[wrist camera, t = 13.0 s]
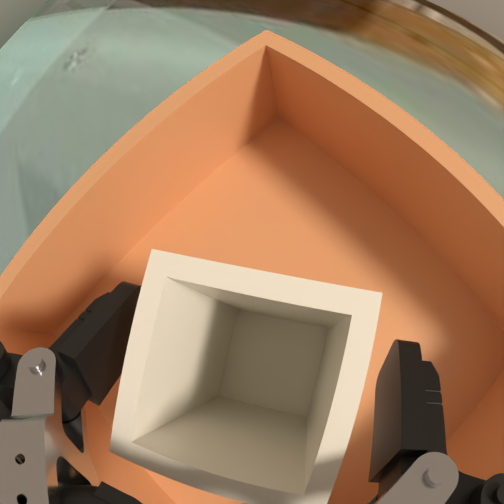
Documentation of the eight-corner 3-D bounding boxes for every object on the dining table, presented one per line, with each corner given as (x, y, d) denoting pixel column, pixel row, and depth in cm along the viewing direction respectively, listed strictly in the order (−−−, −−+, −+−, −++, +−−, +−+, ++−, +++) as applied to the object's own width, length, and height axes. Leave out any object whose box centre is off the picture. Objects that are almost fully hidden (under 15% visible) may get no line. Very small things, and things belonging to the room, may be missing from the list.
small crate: (316, 426, 14) (321, 517, 6) (207, 400, 15) (108, 450, 7) (341, 318, 15) (382, 293, 7) (232, 296, 17) (151, 248, 8)
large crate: (49, 332, 19) (-28, 321, 12) (280, 110, 20) (266, 29, 14) (258, 576, 12) (236, 644, 6) (525, 345, 14) (600, 340, 7)
